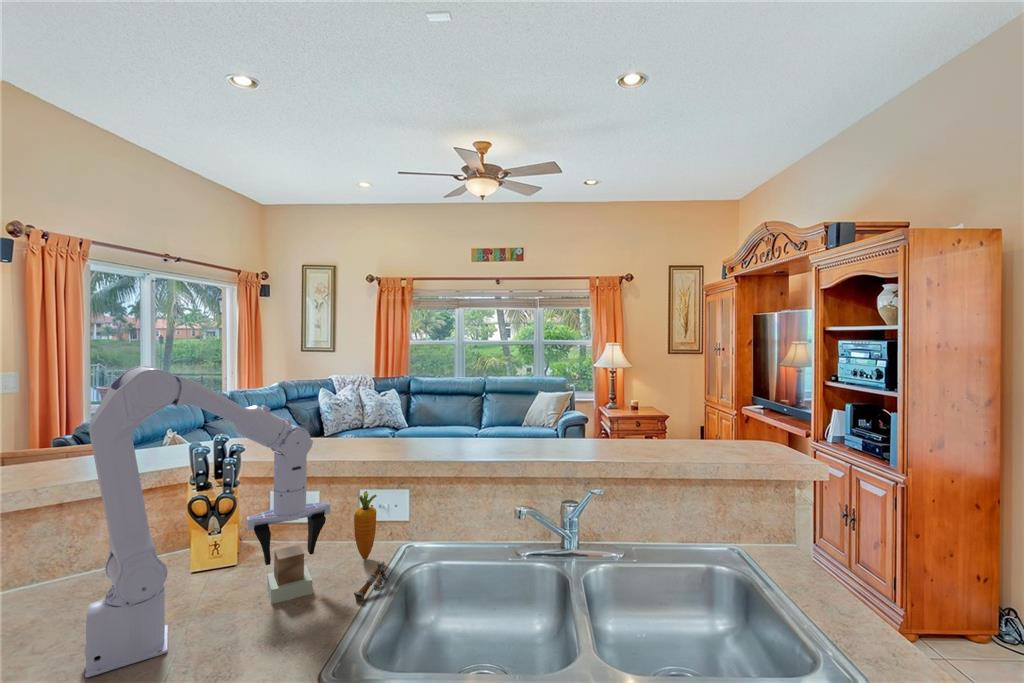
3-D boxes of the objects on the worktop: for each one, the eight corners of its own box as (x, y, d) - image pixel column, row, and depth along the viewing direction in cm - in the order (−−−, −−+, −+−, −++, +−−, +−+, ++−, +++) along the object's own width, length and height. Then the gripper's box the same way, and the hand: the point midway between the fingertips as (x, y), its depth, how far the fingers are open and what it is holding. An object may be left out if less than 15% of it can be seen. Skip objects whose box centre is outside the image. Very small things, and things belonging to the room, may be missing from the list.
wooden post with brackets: (392, 575, 95) (386, 559, 93) (367, 611, 88) (360, 594, 87) (385, 574, 96) (379, 557, 94) (360, 609, 89) (353, 592, 87)
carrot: (359, 553, 106) (360, 487, 106) (380, 555, 106) (381, 488, 105) (349, 564, 101) (349, 494, 101) (370, 565, 101) (371, 496, 100)
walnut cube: (277, 586, 87) (278, 559, 87) (274, 575, 91) (274, 550, 91) (303, 579, 90) (304, 553, 90) (299, 569, 94) (299, 544, 94)
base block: (271, 606, 86) (271, 590, 86) (267, 588, 92) (267, 573, 92) (312, 595, 90) (312, 579, 90) (305, 579, 96) (306, 564, 96)
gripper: (250, 500, 83) (249, 577, 83) (334, 486, 91) (334, 555, 92) (245, 489, 89) (244, 561, 89) (325, 477, 97) (324, 542, 97)
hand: (289, 557), depth 91 cm, fingers open, 7 cm apart
